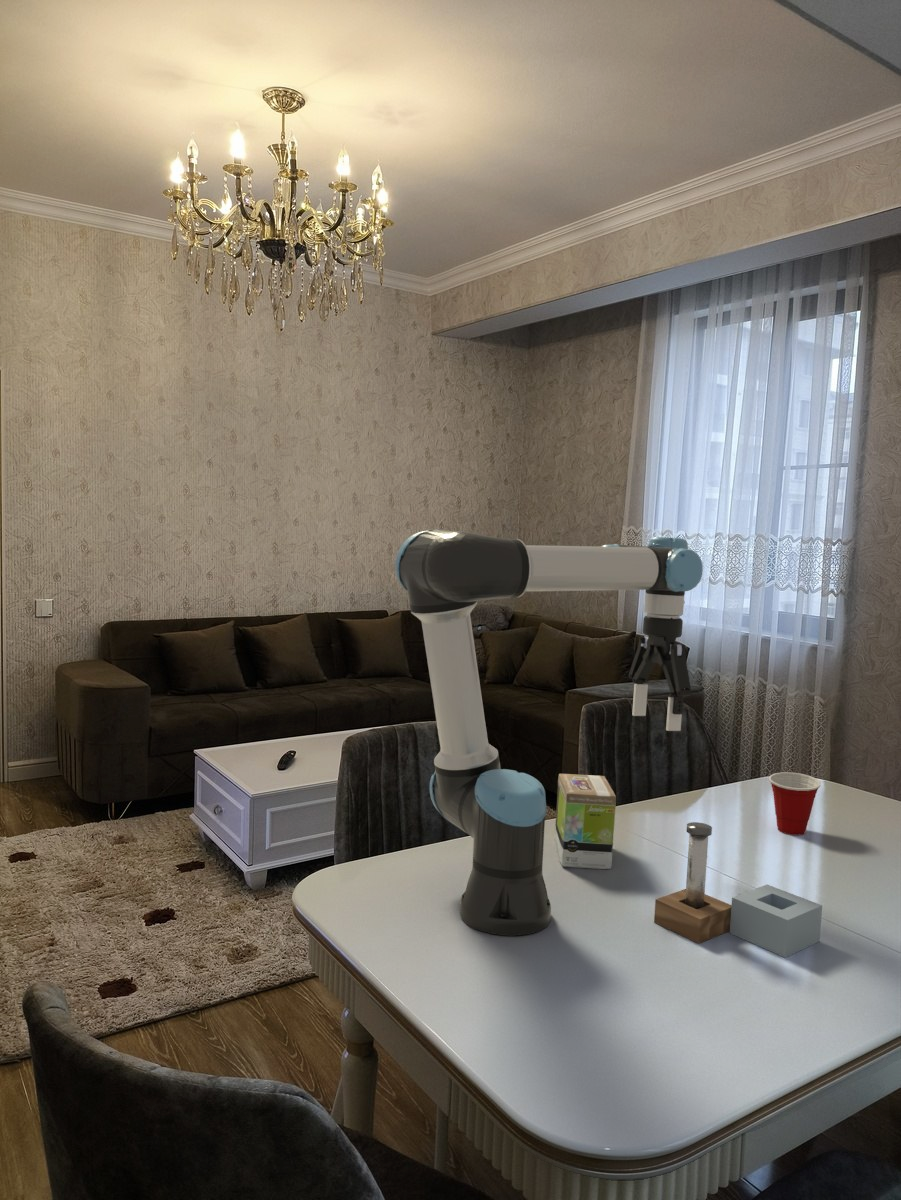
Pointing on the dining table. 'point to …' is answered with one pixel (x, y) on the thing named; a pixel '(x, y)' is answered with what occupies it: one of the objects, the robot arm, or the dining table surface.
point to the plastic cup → (793, 800)
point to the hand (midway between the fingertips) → (655, 722)
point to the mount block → (693, 916)
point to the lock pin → (697, 863)
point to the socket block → (776, 920)
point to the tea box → (585, 821)
